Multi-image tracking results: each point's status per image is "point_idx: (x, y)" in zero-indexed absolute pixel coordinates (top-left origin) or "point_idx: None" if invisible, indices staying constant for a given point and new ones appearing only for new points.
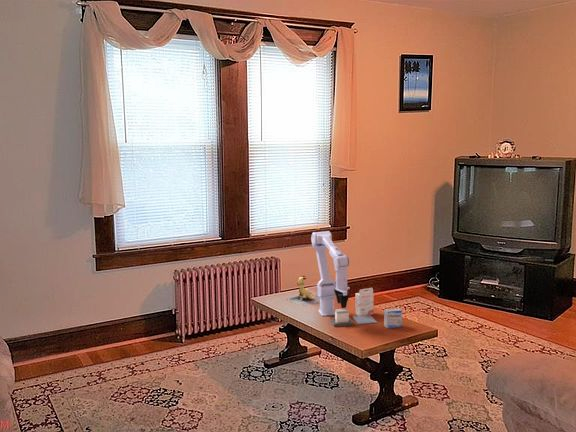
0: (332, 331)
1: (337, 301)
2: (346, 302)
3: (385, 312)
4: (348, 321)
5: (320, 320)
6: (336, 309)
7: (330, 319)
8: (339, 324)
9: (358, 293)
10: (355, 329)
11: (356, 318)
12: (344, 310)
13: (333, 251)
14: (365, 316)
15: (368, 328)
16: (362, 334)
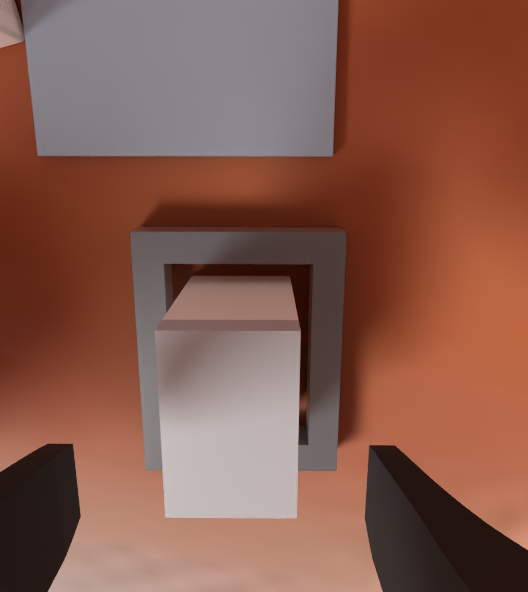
0: (465, 496)
1: (59, 558)
2: (462, 520)
3: None
4: (291, 286)
5: (99, 534)
6: (174, 497)
7: (152, 464)
8: (337, 405)
9: None
10: (489, 245)
11: (132, 125)
12: (256, 391)
13: None
14: None
15: (511, 66)
16: None
